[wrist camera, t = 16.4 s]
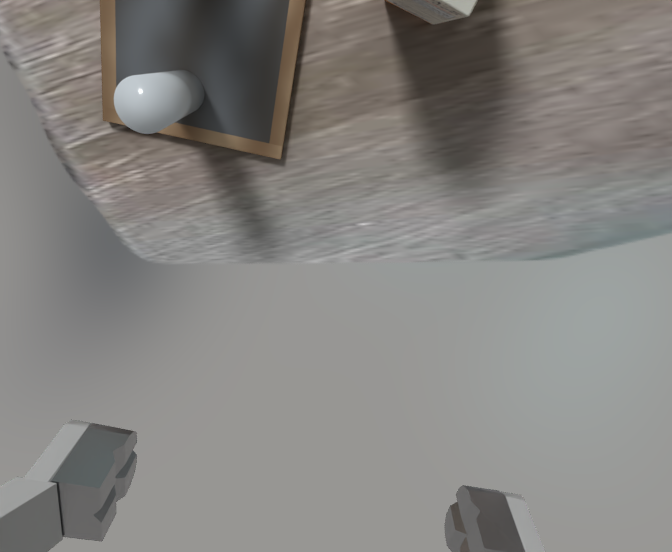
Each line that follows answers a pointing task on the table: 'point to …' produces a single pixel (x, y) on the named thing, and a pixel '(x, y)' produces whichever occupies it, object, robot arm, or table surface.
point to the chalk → (157, 99)
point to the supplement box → (436, 9)
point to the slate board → (210, 63)
